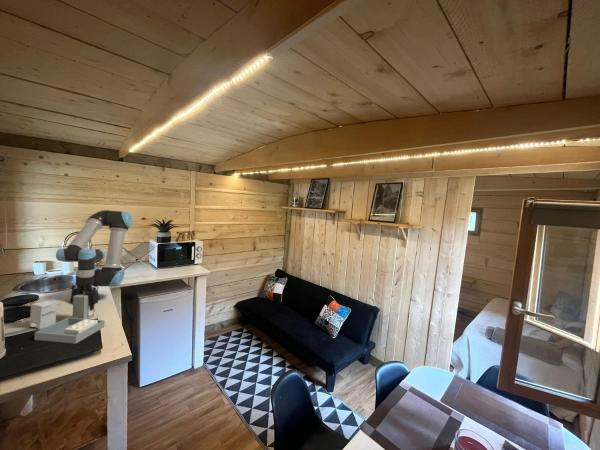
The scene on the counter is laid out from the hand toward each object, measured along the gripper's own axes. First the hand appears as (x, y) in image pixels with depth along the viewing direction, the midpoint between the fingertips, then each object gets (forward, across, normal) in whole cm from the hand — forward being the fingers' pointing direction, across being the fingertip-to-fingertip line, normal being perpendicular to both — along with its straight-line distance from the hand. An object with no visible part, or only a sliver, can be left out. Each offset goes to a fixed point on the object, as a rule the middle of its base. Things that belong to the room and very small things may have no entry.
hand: (83, 314), depth 145 cm
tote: (+3, +7, -15) cm, 17 cm away
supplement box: (+4, -14, -9) cm, 17 cm away
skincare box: (+3, 0, 0) cm, 4 cm away
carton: (+3, +12, -15) cm, 20 cm away
